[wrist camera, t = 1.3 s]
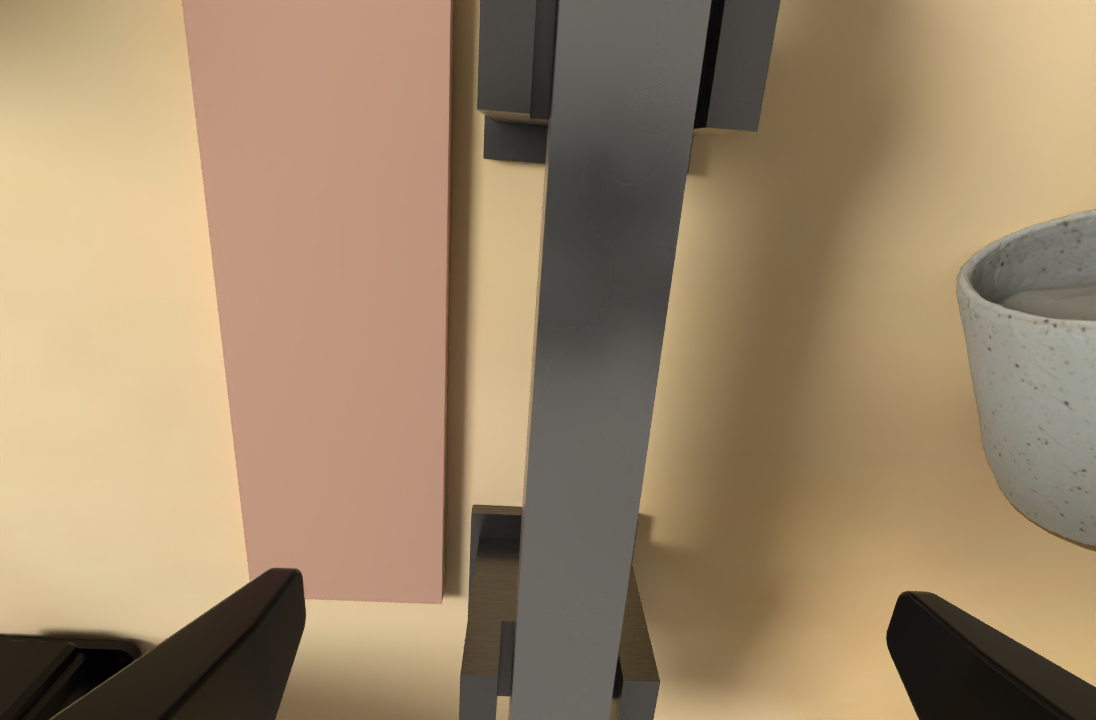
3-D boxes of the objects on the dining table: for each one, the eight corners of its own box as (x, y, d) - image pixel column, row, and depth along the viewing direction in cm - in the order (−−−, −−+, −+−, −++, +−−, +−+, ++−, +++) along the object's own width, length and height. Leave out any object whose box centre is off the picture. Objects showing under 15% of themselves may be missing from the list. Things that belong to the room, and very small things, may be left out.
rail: (582, 765, 20) (590, 852, 18) (505, 764, 20) (501, 850, 17) (707, -209, 11) (755, -306, 9) (571, -223, 11) (581, -327, 9)
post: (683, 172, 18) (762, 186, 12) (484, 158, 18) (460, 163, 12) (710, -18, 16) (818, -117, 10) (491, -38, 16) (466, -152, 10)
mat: (443, 592, 23) (441, 604, 22) (258, 585, 23) (251, 596, 22) (456, -180, 15) (453, -193, 14) (170, -209, 15) (156, -224, 14)
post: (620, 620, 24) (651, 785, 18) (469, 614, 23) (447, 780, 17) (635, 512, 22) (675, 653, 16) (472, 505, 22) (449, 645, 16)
